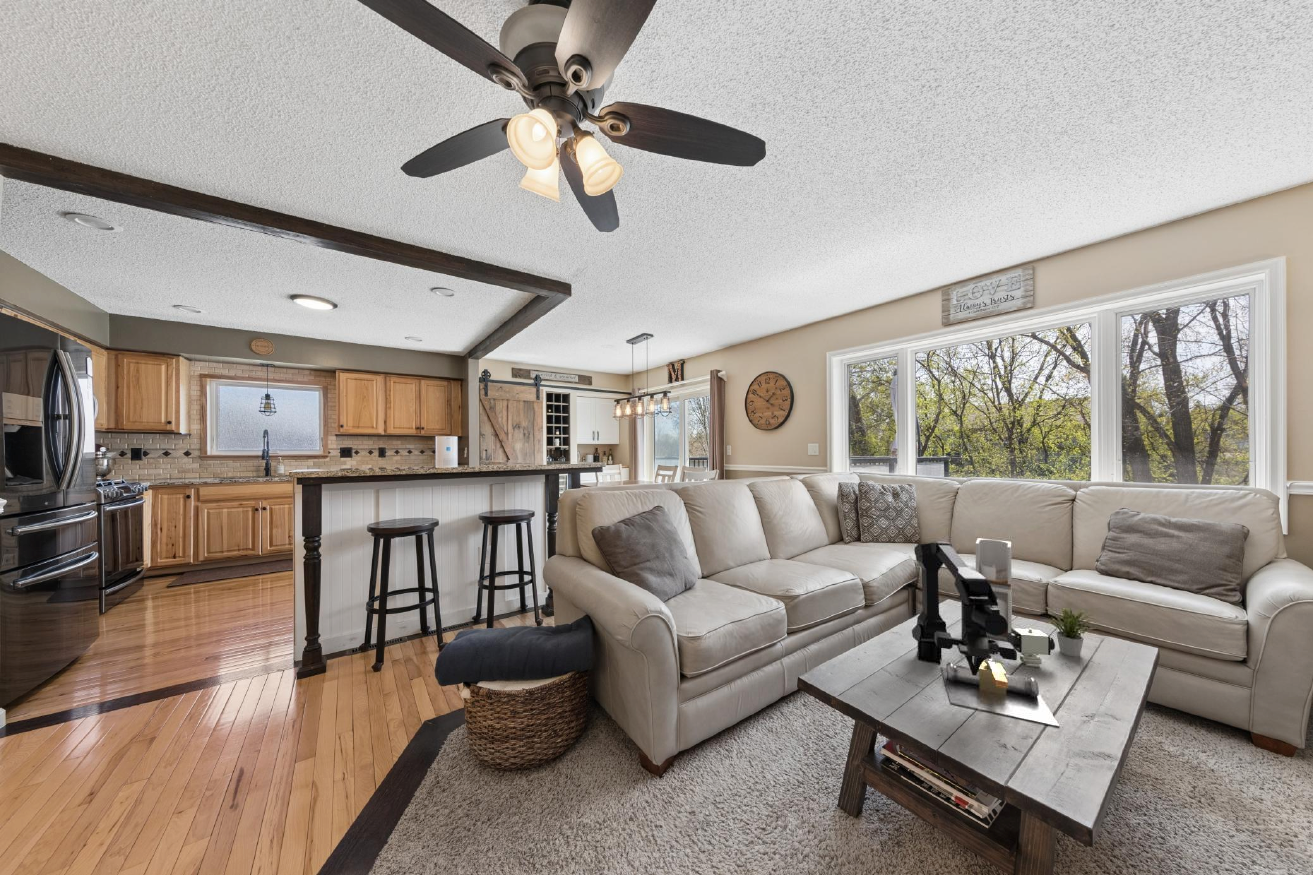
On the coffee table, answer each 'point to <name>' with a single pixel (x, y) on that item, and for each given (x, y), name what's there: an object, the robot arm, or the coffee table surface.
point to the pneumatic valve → (1031, 645)
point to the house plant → (1070, 632)
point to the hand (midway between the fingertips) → (973, 674)
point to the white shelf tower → (997, 575)
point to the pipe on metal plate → (996, 694)
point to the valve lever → (996, 673)
